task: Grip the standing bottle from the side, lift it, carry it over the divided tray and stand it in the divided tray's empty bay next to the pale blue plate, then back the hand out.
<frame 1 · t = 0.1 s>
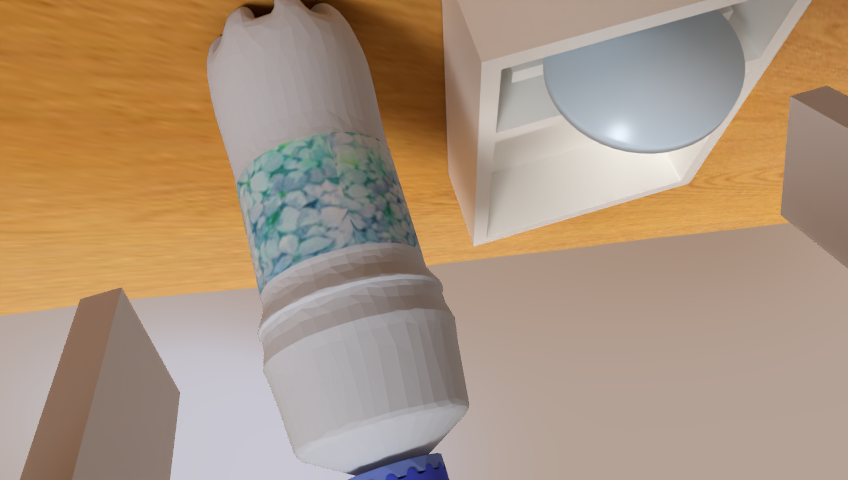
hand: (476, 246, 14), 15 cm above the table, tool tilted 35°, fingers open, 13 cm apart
divided tray: (574, 54, 38), on the table
bottle: (277, 30, 30), on the table
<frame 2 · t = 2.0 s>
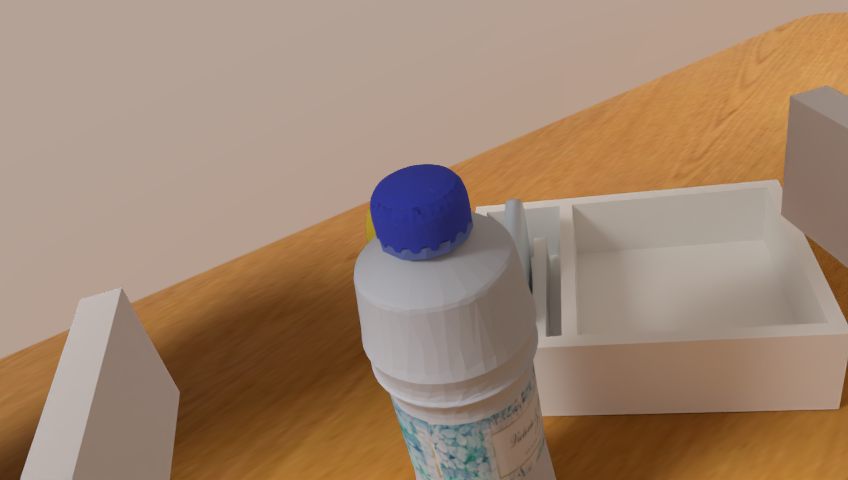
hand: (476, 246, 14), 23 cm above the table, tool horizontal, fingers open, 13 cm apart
divided tray: (632, 325, 45), on the table
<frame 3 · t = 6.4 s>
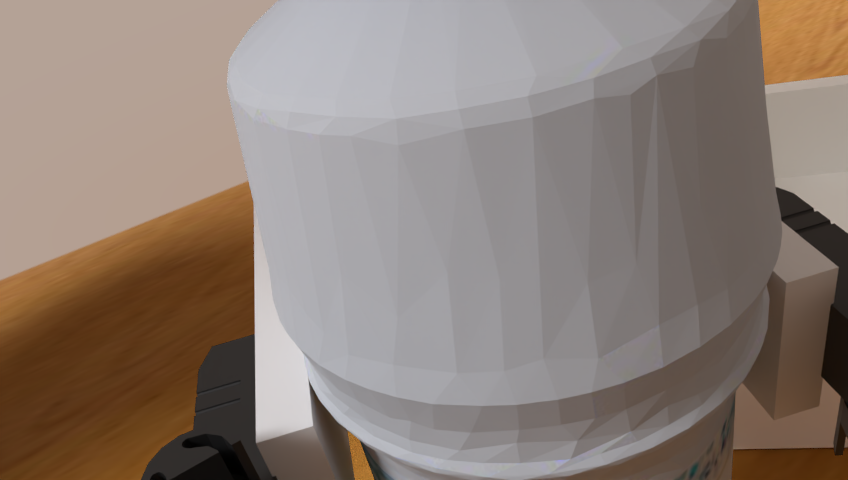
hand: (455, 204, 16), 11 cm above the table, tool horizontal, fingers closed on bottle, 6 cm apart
divided tray: (778, 295, 27), on the table
when the fingers open (14 cm above the table, at t = 11.9 s): bottle drops 2 cm, resting on divided tray.
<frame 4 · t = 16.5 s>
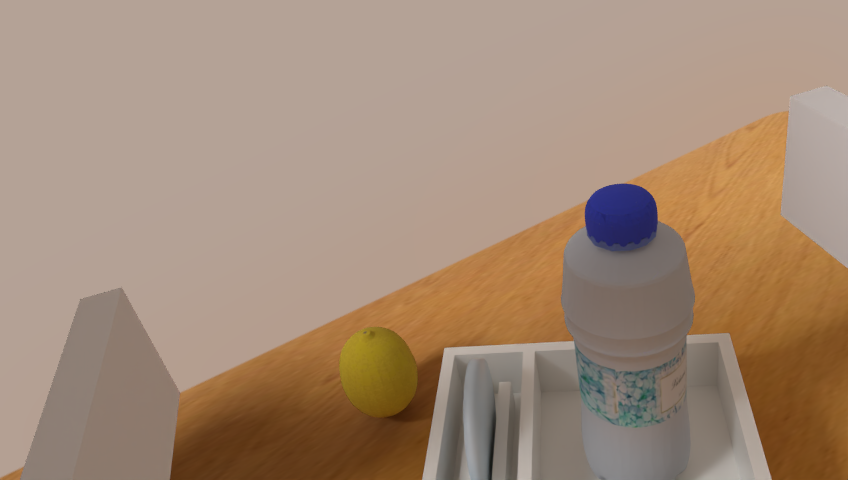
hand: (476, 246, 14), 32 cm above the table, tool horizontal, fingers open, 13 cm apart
divided tray: (590, 475, 47), on the table
lemon: (391, 412, 55), on the table
bottle: (637, 465, 45), point 1 cm above the table, touching divided tray
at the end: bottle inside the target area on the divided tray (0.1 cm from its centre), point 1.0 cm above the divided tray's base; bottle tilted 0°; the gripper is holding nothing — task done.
